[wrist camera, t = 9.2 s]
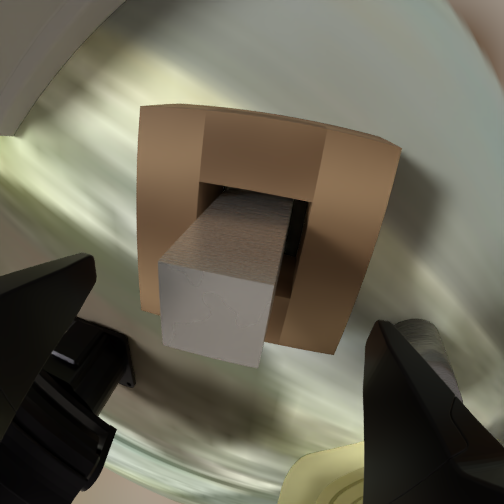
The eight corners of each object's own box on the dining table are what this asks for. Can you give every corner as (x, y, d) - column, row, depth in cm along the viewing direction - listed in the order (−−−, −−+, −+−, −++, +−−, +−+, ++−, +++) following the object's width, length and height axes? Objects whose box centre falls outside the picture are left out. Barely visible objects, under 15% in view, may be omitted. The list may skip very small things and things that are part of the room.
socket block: (332, 307, 18) (333, 355, 15) (170, 272, 19) (141, 309, 16) (379, 136, 13) (401, 148, 10) (179, 103, 14) (140, 106, 11)
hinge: (10, 139, 17) (-101, 138, 8) (6, 97, 17) (-92, 89, 8) (174, -38, 11) (44, -126, 1) (152, -63, 11) (47, -131, 2)
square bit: (286, 242, 17) (257, 368, 9) (231, 231, 17) (163, 345, 9) (295, 187, 15) (273, 285, 8) (236, 178, 16) (157, 261, 8)
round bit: (420, 372, 19) (435, 439, 14) (365, 365, 20) (370, 437, 15) (450, 324, 17) (478, 392, 12) (390, 313, 18) (408, 389, 12)
